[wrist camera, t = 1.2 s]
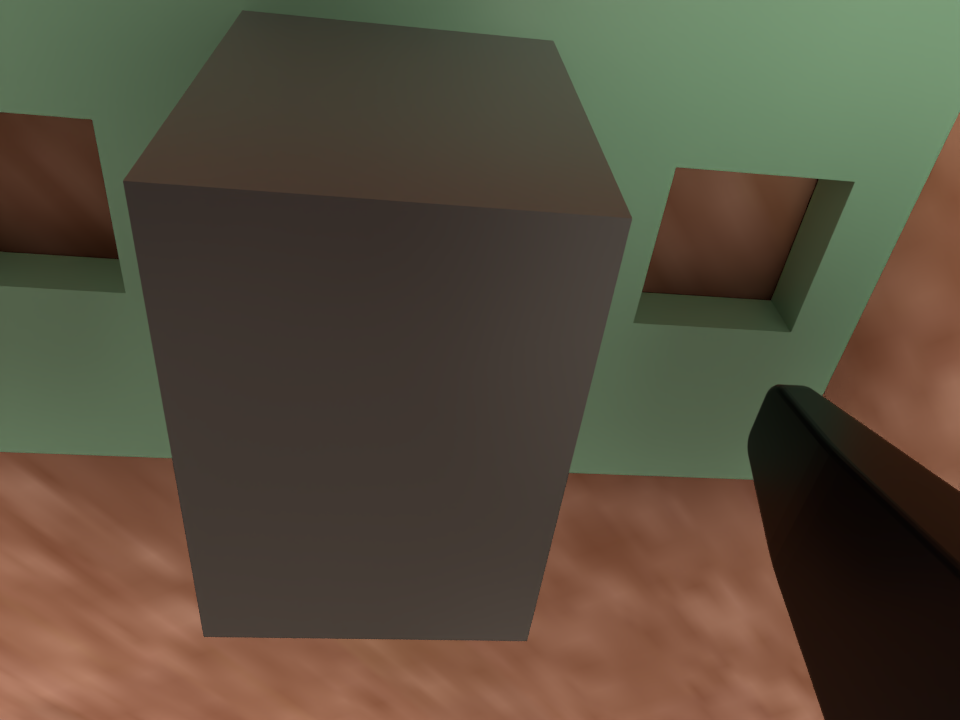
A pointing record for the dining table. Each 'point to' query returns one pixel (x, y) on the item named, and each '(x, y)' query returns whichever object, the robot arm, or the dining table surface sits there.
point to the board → (645, 130)
